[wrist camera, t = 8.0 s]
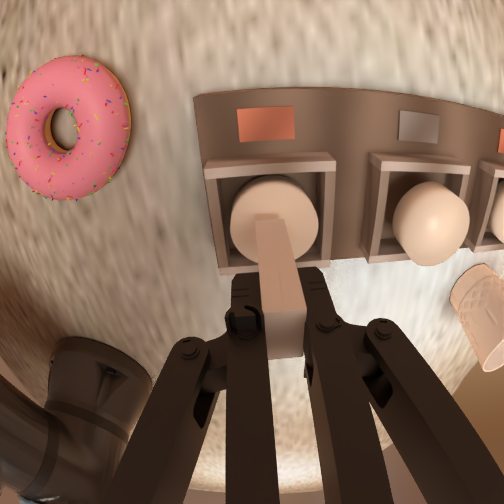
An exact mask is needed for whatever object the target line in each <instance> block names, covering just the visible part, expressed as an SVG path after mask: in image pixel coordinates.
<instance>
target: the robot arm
mask: <svg viewBox="0 0 504 504" xmlns="http://www.w3.org/2000/svg"><path fill="white" fill-rule="evenodd" d="M255 230H256V242H257V255H258V268H259V272H249V273H237V274H236V275H235V277H234V278H233V280H232V286H231V308H230V309H229V310H228V311H227V312H226V315H225V322H226V327H227V331H226V332H225V333H224V334H223V335H222V336H220V337H218V338H216V339H213V340H210V341H207V342H205V341H204V340H202V339H200V338H198V337H187V338H183V339H181V340H180V341H178V342H177V343H176V344H175V345H174V346H173V348H172V350H171V352H170V354H169V356H168V358H167V360H166V362H165V364H164V366H163V369H162V371H161V373H160V375H159V377H158V379H157V381H156V383H155V385H154V388H153V390H152V382H151V379H150V377H149V375H148V374H147V373H146V371H145V370H144V369H143V368H142V367H141V366H140V365H139V364H137V363H136V362H135V361H134V360H132V359H131V358H129V357H128V356H126V355H125V354H123V353H121V352H119V351H118V350H116V349H114V348H112V347H109V346H107V345H105V344H102V343H99V342H96V341H93V340H89V339H84V338H75V337H72V338H65V339H62V340H60V341H59V342H58V343H57V344H56V346H55V348H54V350H53V352H52V354H51V357H50V371H49V379H48V397H47V401H46V403H45V406H44V409H43V408H42V407H40V406H39V405H37V404H36V403H35V402H34V401H32V400H31V399H30V398H28V397H27V396H26V395H25V394H23V393H22V392H21V391H19V390H18V389H17V388H16V387H15V386H13V385H12V384H11V383H10V382H9V381H7V380H6V379H5V378H4V377H3V376H2V375H1V374H0V495H1V492H2V490H3V489H4V488H5V487H6V488H8V489H10V490H12V491H14V492H16V493H18V498H19V502H20V504H183V501H184V498H185V495H186V492H187V489H188V487H189V484H190V481H191V478H192V475H193V472H194V469H195V466H196V463H197V460H198V457H199V454H200V451H201V448H202V445H203V442H204V439H205V436H206V433H207V430H208V426H209V423H210V420H211V417H212V414H213V411H214V408H215V405H216V402H217V399H218V396H219V393H220V391H222V390H225V389H226V504H280V501H279V487H278V474H277V462H276V450H275V438H274V426H273V414H272V402H271V390H270V378H269V367H268V360H270V359H282V358H292V357H301V356H303V352H304V355H305V368H304V378H307V384H308V390H309V396H310V402H311V408H312V414H313V421H314V427H315V434H316V440H317V447H318V454H319V460H320V467H321V475H322V482H323V489H324V497H325V504H394V502H393V498H392V493H391V488H390V484H389V479H388V475H387V470H386V466H385V462H384V457H383V453H382V449H381V445H380V441H379V437H378V433H377V429H376V426H375V422H374V418H373V414H372V411H371V407H370V404H371V405H372V407H373V409H374V410H375V412H376V414H377V416H378V417H379V419H380V421H381V422H382V424H383V426H384V428H385V429H386V431H387V433H388V434H389V436H390V438H391V440H392V441H393V443H394V445H395V447H396V448H397V450H398V452H399V454H400V455H401V457H402V459H403V461H404V462H405V464H406V466H407V467H408V469H409V471H410V473H411V474H412V476H413V478H414V480H415V482H416V484H417V485H418V487H419V489H420V491H421V493H422V494H423V496H424V498H425V500H426V502H427V503H428V504H504V475H503V474H502V472H501V470H500V469H499V467H498V465H497V463H496V462H495V460H494V459H493V457H492V455H491V454H490V452H489V451H488V449H487V447H486V446H485V444H484V443H483V441H482V440H481V438H480V437H479V435H478V434H477V432H476V431H475V429H474V428H473V426H472V425H471V423H470V422H469V420H468V419H467V417H466V416H465V414H464V413H463V412H462V410H461V409H460V407H459V406H458V404H457V403H456V402H455V401H454V399H453V397H452V396H451V395H450V393H449V392H448V390H447V389H446V388H445V386H444V385H443V384H442V382H441V381H440V380H439V378H438V377H437V376H436V374H435V373H434V372H433V370H432V369H431V368H430V366H429V365H428V364H427V362H426V361H425V360H424V358H423V357H422V356H421V354H420V353H419V352H418V351H417V349H416V348H415V347H414V345H413V344H412V343H411V342H410V340H409V339H408V338H407V337H406V335H405V334H404V333H403V332H402V330H401V329H400V328H399V327H398V325H396V324H395V323H394V322H393V321H391V320H388V319H384V318H378V319H374V320H372V321H371V322H369V324H368V325H367V326H359V325H353V324H349V323H347V322H345V321H343V319H342V318H341V317H340V316H339V315H337V313H336V311H335V308H334V305H333V302H332V299H331V296H330V293H329V290H328V287H327V284H326V282H325V278H324V276H323V273H322V272H321V271H320V270H319V269H318V268H317V267H316V266H312V267H301V268H297V267H296V263H295V259H294V255H293V251H292V247H291V244H290V240H289V236H288V232H287V228H286V225H285V221H284V219H272V220H259V221H255ZM151 390H152V392H151ZM369 402H370V404H369ZM140 415H141V416H140ZM139 417H140V418H139ZM138 418H139V420H138ZM137 420H138V422H137V424H136V427H135V429H134V431H133V433H132V435H131V438H130V440H129V442H128V438H129V433H130V431H131V429H132V428H133V426H134V425H135V423H136V421H137ZM127 443H128V444H127Z"/></svg>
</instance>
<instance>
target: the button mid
mask: <svg viewBox="0 0 504 504" xmlns="http://www.w3.org/2000/svg"><path fill="white" fill-rule="evenodd" d="M469 220H470V217H469V211H468V208H467V206H466V204H465V203H464V202H463V200H461V199H460V198H459V197H458V196H456V195H455V194H454V193H453V192H451V191H450V190H449V189H447V188H446V187H445V186H443V185H442V184H440V183H437V182H432V181H430V182H423V183H420V184H418V185H416V186H414V187H413V188H411V189H410V190H409V191H408V192H407V193H406V194H405V195H404V196H403V197H402V198H401V200H400V201H399V203H398V205H397V207H396V209H395V212H394V216H393V222H392V226H393V232H394V235H395V237H396V239H397V241H398V242H399V243H400V245H401V246H402V247H403V249H404V250H405V252H406V253H407V254H408V256H409V257H410V259H411V260H412V261H413V262H415V263H416V264H418V265H421V266H433V265H437V264H439V263H442V262H444V261H445V260H447V259H448V258H450V257H451V256H452V255H453V254H454V253H455V252H456V251H457V250H458V249H459V247H460V246H461V245H462V243H463V241H464V239H465V237H466V235H467V232H468V228H469Z"/></svg>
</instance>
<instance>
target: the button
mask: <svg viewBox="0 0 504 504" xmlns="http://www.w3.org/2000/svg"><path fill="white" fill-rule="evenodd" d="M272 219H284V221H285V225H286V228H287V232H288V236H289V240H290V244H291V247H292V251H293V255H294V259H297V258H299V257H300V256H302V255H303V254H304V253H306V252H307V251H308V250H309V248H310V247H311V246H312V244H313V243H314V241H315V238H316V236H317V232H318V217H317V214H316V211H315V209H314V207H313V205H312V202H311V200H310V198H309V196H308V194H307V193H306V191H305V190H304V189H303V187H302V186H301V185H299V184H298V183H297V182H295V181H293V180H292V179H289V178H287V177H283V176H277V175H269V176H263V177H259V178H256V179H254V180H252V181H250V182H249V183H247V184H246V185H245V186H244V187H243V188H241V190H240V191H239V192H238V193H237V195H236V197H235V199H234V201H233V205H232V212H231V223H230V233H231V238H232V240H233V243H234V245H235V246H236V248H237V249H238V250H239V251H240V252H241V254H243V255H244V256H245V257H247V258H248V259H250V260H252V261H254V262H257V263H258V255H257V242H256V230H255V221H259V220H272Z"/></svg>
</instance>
